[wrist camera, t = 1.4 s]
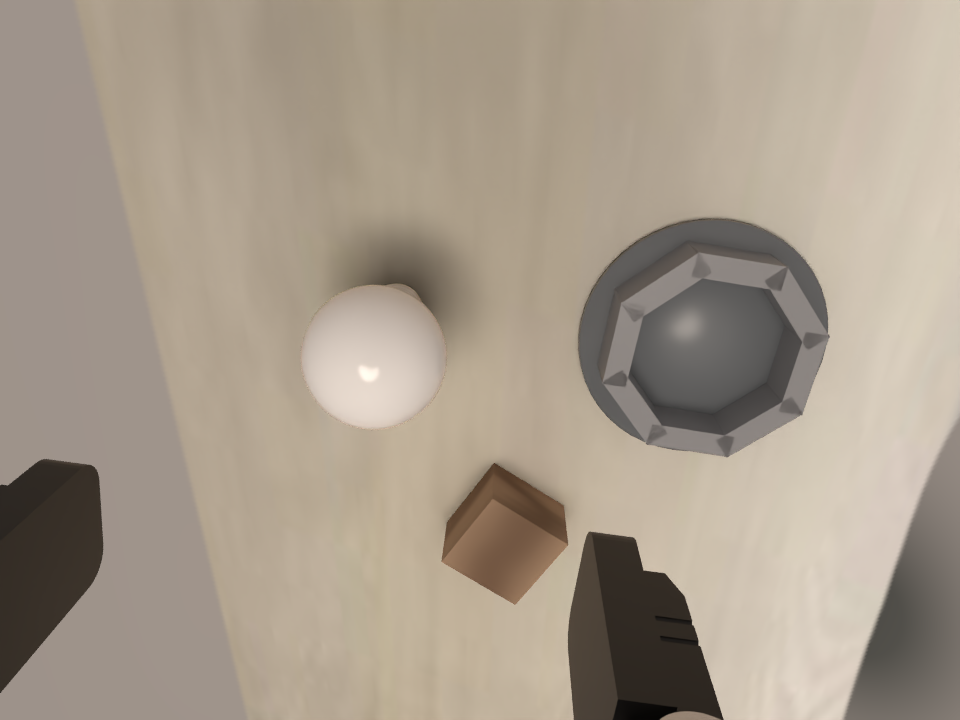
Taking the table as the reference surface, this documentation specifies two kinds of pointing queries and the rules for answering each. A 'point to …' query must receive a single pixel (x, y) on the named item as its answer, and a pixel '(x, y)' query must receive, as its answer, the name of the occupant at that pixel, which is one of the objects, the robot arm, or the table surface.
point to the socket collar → (704, 336)
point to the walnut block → (505, 534)
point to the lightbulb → (374, 356)
